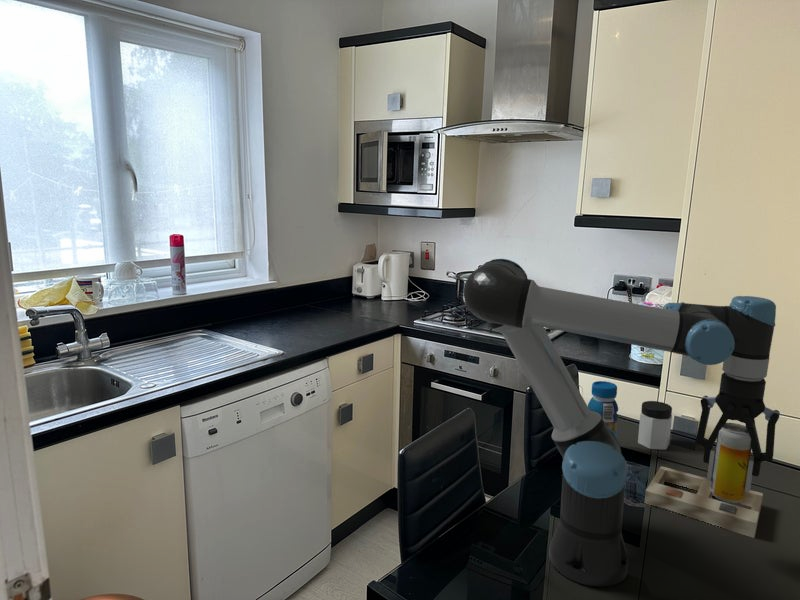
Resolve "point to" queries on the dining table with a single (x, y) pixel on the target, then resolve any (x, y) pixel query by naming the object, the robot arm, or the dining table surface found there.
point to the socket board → (703, 502)
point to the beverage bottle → (605, 402)
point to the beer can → (731, 463)
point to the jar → (655, 425)
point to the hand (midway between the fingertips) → (728, 483)
